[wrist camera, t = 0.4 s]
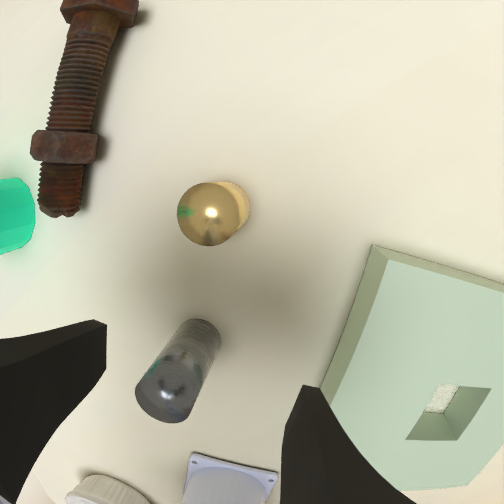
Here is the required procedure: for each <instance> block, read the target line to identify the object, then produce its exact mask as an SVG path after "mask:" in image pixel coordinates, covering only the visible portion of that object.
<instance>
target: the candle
mask: <svg viewBox="0 0 504 504" xmlns="http://www.w3.org/2000/svg"><path fill="white" fill-rule="evenodd" d="M34 225H35V206H34V201H33V199H32V196H31V193H30V190H29V188H28V186H27V185H26V184H25V183H23V182H22V181H21V180H20V179H19V178H13V179H2V180H0V255H1V254H4V253H6V252H9V251H12V250H15V249H18V248H21V247H22V246H24V245H25V244H26V243H27V242H28V241H29V240H30V239H31V235H32V232H33V229H34Z"/></svg>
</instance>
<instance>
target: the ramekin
mask: <svg viewBox="0 0 504 504" xmlns="http://www.w3.org/2000/svg"><path fill="white" fill-rule="evenodd" d="M65 501H66V503H67V504H150V502H149V501H148V500H147V499H146V498H145V497H144V496H143V495H142V494H141V493H139V492H138V491H136V490H135V489H133V488H132V487H130V486H128V485H127V484H125V483H123V482H121V481H119V480H116V479H114V478H111V477H108V476H105V475H91V476H88V477H86V478H85V479H84V480H83V481H82V482H81V483H80V484H79V485H78V486H77V487H76V488H75V489H74V490H73V491H70V492H69V493H68V494H67V496H66V498H65Z"/></svg>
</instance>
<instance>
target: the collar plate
mask: <svg viewBox="0 0 504 504" xmlns="http://www.w3.org/2000/svg"><path fill="white" fill-rule="evenodd" d="M439 384H446V385H456V386H460V387H459V389H458V391H457V392H456V394H455V396H454V397H453V399H452V401H451V402H450V404H449V406H448V407H447V409H446V410H445V412H444V413H429V412H423V411H424V410H425V408H426V407H427V405H428V403H429V402H430V400H431V398H432V397H433V395H434V393H435V391H436V390H437V388H438V386H439ZM320 389H321V391H322V393H323V395H324V396H325V398H326V400H327V402H328V404H329V406H330V407H331V409H332V411H333V413H334V414H335V416H336V418H337V420H338V421H339V423H340V424H341V426H342V428H343V429H344V431H345V432H346V434H347V435H348V437H349V438H350V440H351V441H352V442H353V444H354V445H355V446H356V448H357V449H358V450H359V452H360V453H361V454H362V455H363V457H364V458H365V459H366V460H367V461H368V462H369V463H370V464H371V465H372V467H373V468H374V469H375V470H376V471H377V472H378V473H379V474H380V475H381V476H382V477H383V478H385V479H386V480H387V481H388V482H389V483H390V484H391V485H392V486H393V487H395V488H396V489H397V490H398V491H412V490H429V489H441V488H451V487H459V486H467V485H469V484H470V482H471V481H472V480H473V479H474V478H475V477H476V476H477V475H478V474H479V473H480V471H481V470H482V469H483V468H484V467H485V466H486V465H487V463H488V462H489V461H490V460H491V459H492V457H493V456H494V455H495V454H496V452H497V451H498V450H499V449H500V447H501V446H502V445H503V444H504V284H501V283H498V282H495V281H492V280H489V279H486V278H483V277H479V276H476V275H473V274H470V273H467V272H463V271H460V270H457V269H454V268H450V267H447V266H444V265H441V264H437V263H434V262H431V261H427V260H424V259H420V258H417V257H414V256H410V255H407V254H403V253H400V252H396V251H393V250H389V249H386V248H382V247H379V246H375V245H372V247H371V251H370V254H369V257H368V261H367V264H366V267H365V270H364V273H363V276H362V279H361V283H360V286H359V289H358V291H357V294H356V297H355V300H354V303H353V306H352V309H351V312H350V314H349V317H348V320H347V323H346V325H345V328H344V331H343V333H342V336H341V339H340V341H339V344H338V346H337V349H336V351H335V354H334V356H333V359H332V361H331V364H330V366H329V369H328V371H327V374H326V376H325V378H324V381H323V383H322V385H321V388H320Z"/></svg>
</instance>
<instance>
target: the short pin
mask: <svg viewBox="0 0 504 504" xmlns="http://www.w3.org/2000/svg"><path fill="white" fill-rule="evenodd" d="M249 213H250V201H249V198H248V196H247V194H246V192H245V191H244V190H243V189H242V188H241V187H240V186H238V185H237V184H234V183H231V182H210V183H201V184H197V185H195V186H193V187H191V188H190V189H188V190H187V191H186V192H185V193H184V195H183V196H182V198H181V199H180V202H179V204H178V209H177V218H178V223H179V226H180V228H181V230H182V232H183V233H184V235H185V236H186V237H187V238H188V239H190V240H191V241H193V242H194V243H196V244H199V245H203V246H214V245H218V244H221V243H223V242H224V241H226V240H227V239H228V238H229V237H231V236H232V235H233V234H234V233H235V232H236V231H237V230H238V229H239V228H240V227H241V226H242V225H243V224H244V223H245V222H246V220H247V219H248V216H249Z"/></svg>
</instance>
